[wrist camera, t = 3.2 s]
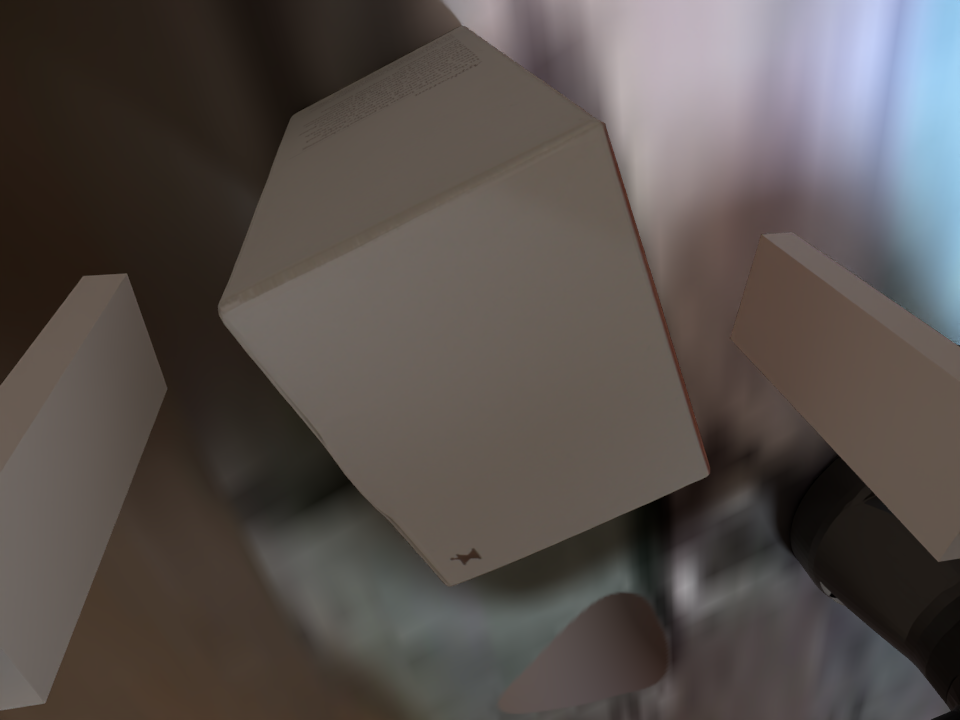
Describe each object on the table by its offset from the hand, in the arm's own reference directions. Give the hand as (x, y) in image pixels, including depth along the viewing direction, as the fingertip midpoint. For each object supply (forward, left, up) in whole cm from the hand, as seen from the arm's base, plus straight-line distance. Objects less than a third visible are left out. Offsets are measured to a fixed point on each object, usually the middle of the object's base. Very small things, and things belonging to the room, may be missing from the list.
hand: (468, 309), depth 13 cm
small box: (0, 0, -10) cm, 10 cm away
